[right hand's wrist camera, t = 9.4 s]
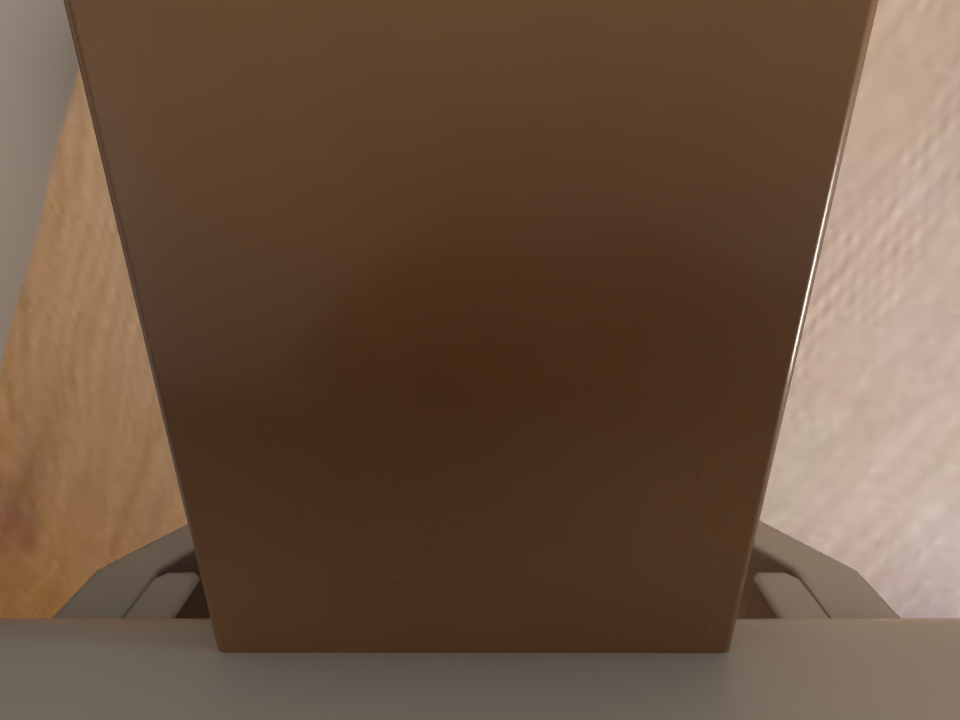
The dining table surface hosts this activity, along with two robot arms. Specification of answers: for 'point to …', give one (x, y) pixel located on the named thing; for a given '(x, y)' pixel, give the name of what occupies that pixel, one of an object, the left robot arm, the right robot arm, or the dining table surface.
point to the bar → (472, 301)
